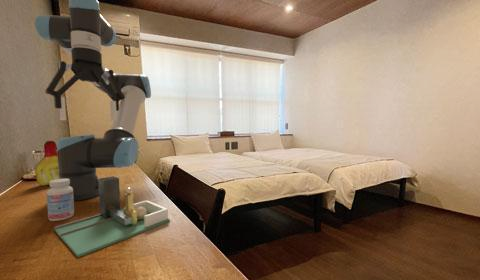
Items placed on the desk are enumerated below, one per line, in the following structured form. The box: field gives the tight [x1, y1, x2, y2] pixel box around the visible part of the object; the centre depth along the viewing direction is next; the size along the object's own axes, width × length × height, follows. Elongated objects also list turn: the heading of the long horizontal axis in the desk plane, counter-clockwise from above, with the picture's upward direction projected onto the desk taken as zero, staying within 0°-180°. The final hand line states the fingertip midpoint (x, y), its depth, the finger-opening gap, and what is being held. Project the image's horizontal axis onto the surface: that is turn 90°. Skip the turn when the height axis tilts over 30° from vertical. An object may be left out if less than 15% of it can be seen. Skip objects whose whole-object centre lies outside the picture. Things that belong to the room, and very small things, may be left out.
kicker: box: [98, 175, 137, 225], centre depth 62 cm, size 14×4×11 cm, turn 51°
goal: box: [134, 199, 169, 227], centre depth 65 cm, size 12×7×4 cm, turn 51°
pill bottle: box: [46, 179, 75, 222], centre depth 66 cm, size 6×6×11 cm
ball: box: [135, 207, 147, 220], centre depth 63 cm, size 4×4×4 cm
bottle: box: [34, 140, 59, 186], centre depth 102 cm, size 12×6×20 cm, turn 138°
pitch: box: [54, 208, 171, 258], centre depth 60 cm, size 18×22×1 cm
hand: (90, 120), depth 69 cm, fingers open, 13 cm apart
